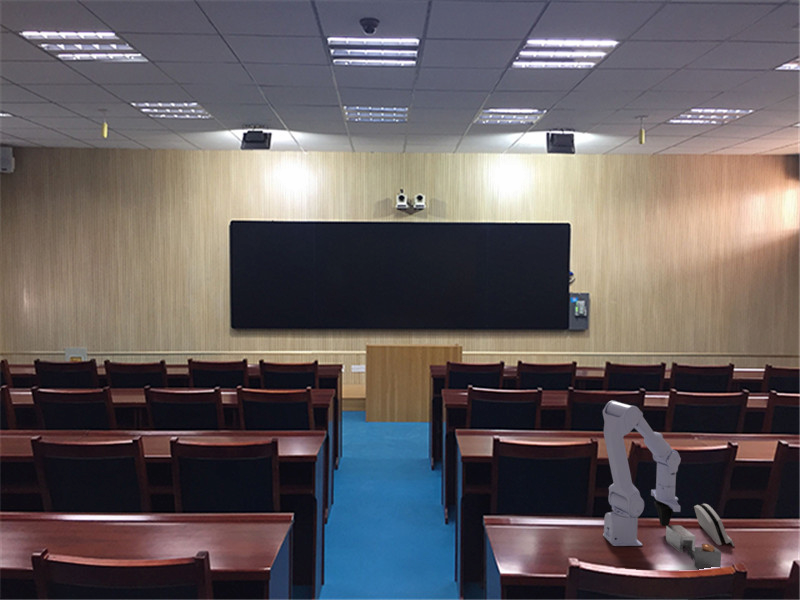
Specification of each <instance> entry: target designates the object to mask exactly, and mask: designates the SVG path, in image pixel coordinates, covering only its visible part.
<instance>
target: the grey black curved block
mask: <svg viewBox="0 0 800 600" xmlns="http://www.w3.org/2000/svg"><path fill="white" fill-rule="evenodd" d="M693 508H694V512H695V515H696V518H697V522H698V525H699V526H700V527H701V528H702V529H703V530H704V531H705V533H706V534H707V535H708V536H709V537H710V538H711V539H712V540H713V542H715V544H716V545H717V546H721V545H722V544H723V543H725V544H729V543H730V545H731V546H732V547H735V544H734V540H732V538H731V537H730V536H729V535H728V534H727V531H726V528H725V527H724V526H725V525H724V524H723V521H722V519H721V518H720V516H719V515H718V514H717V512H716V511H715V510H714V509H713V507H711V505H709V504H707V503H702V504H700V505H699V504H696V505H694V506H693Z"/></svg>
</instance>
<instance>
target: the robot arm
mask: <svg viewBox="0 0 800 600" xmlns="http://www.w3.org/2000/svg"><path fill="white" fill-rule="evenodd" d="M643 415H644V413H643V411H641V410H640V409H639V407H638V406H636V405H630V404H627V403H622V402H620V401H617V400H610V401H608V402H607V403H606V404H605V406H604V408H603V409H602V416H603V417H602V418H603V421H604V424H603V425H604V426H603V437H604V442H605V447H606V452H607V457H608V463H609V467H610V473H611V477H612V481H613V482H612V484H610V485H609V487H608V503H609V505H610V506H611V510H612V511H610V512H606V513H605V514H604V519H603V520H604V521H603V522H604V523H603V534H602V536H603V537H604V539H606V540H607V541H608V542H609V543H610V545H611V546H614V547H627V546H628V547H630V546H631V547H641V546H643V543H642V542H641V541H640V540H638V520H639V519H638V518H639V517H640V516H641V514H642V513H643V511H644V508H645V501H644V499H643V498H642V497H641V493H640V491H639V489H638V488H637V487H636V486H635V484H634V483H633V481H632V474H631V470H630V465H629V460H628V459H629V458H628V454H627V450H626V444H625V439H624V437H625V436H627V435H629V433H630V432H631V431H632V430H634V429H635V430H636V431H637V432H638V433H639V434H640V435H641V436H642V438H643V443H644V445H645V446H646V447H647V448H648V450H649V451H650V452H651V454H652V459H653V461H655V462H656V481H655V482H656V483H655V489H651V490H650V496H652V497H654V499H655V500H656V501H653V505H654V507H655V509H656V512H657V515H658V519H659V524H660V526H662V527H666V525H670V522H671V519H672V517H673V514H674V513H681V505H680V504H679V503H678V501H679V498H678V497H677V496H676V483H677V482H676V480H677V479H676V478H677V473H678V471H679V466H680V463H681V459H682V458H681V457H680V453H679V452H678V451H677V450H675V449H673V448H672V447H671V445H670V443H669V442H667V441H666V440H665V439H664V435H663V434H662V433H661V432H657V431H654V430H653V429H652V428H651V426H650V425H649V423H648V422H647V420H646V419H645V417H644V416H643Z"/></svg>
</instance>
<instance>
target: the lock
mask: <svg viewBox="0 0 800 600" xmlns="http://www.w3.org/2000/svg"><path fill="white" fill-rule="evenodd" d="M665 528H666V529H665V542H667V544H668V545H670V546H672V548H673V549H675V550H676V551H678V553H683V552H684V551H683V550H684V547H685V548H686V549H687V550H688V549H692V550H693V551H694V552H695V547H696V535H694V533H691V531H689V530H688V529H686V528H685V527H684V526H682V525H679V524H678V525H675V524H674V525H670V524H669V525H666V526H665Z"/></svg>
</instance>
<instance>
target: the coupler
mask: <svg viewBox="0 0 800 600" xmlns="http://www.w3.org/2000/svg"><path fill="white" fill-rule="evenodd" d="M687 555H688V556H690V558H691V559H693V561H694V562H693V566H694V567H695V568H696V569H698V570H699V569H704V568H711V567H720V568H721V565H722V562H721V561H722V551H721V550H719V548H717V547H715V546H714V545H713V544H710V543H701V546H695V552H694V551H693V550H692V549H687Z"/></svg>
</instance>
